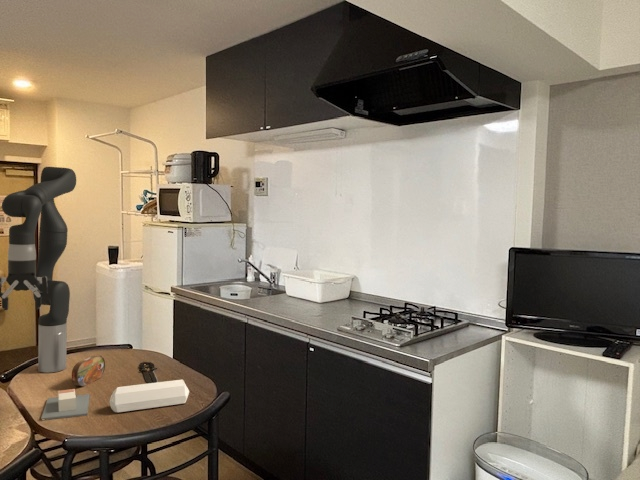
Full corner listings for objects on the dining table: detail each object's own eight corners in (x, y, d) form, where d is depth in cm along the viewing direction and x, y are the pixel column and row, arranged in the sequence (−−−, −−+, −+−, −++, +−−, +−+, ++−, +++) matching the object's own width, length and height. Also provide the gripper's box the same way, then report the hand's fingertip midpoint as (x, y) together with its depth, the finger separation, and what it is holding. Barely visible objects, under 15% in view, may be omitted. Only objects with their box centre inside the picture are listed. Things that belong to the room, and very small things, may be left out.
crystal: (185, 382, 166) (108, 392, 155) (190, 378, 160) (109, 387, 149) (187, 405, 163) (108, 416, 152) (192, 401, 157) (110, 413, 146)
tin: (77, 389, 166) (78, 365, 165) (69, 388, 166) (69, 364, 166) (105, 375, 180) (106, 352, 180) (98, 374, 181) (98, 352, 180)
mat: (47, 399, 156) (47, 398, 156) (89, 395, 161) (89, 393, 161) (41, 420, 141) (41, 418, 141) (87, 415, 146) (87, 413, 146)
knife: (158, 386, 173) (158, 382, 173) (139, 388, 171) (139, 384, 171) (156, 364, 196) (156, 360, 196) (138, 365, 194) (138, 361, 194)
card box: (58, 411, 146) (58, 399, 146) (58, 402, 153) (58, 390, 153) (75, 409, 149) (75, 397, 148) (74, 399, 156) (74, 388, 155)
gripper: (-8, 259, 150) (-7, 312, 151) (46, 259, 155) (46, 310, 156) (-2, 257, 157) (-2, 307, 158) (49, 257, 162) (48, 306, 163)
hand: (22, 309), depth 157 cm, fingers open, 8 cm apart
